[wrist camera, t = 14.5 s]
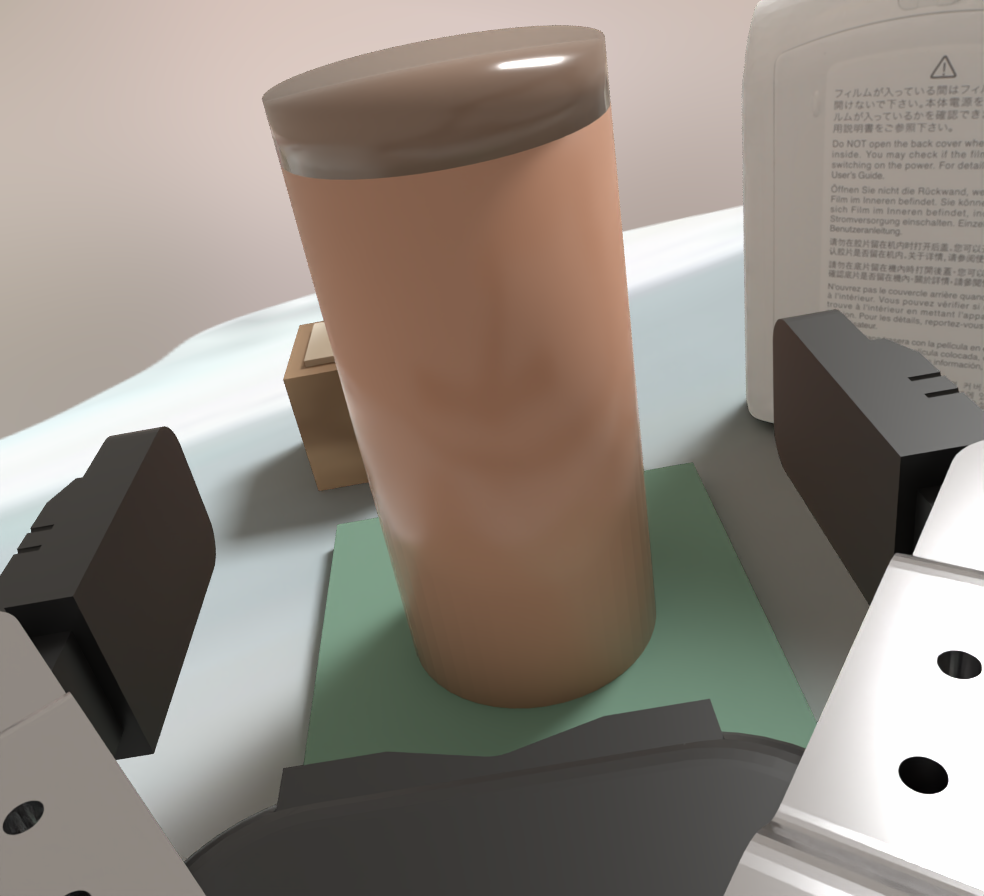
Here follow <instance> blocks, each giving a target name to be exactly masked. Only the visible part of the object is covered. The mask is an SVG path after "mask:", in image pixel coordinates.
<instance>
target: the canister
mask: <svg viewBox="0 0 984 896" xmlns="http://www.w3.org/2000/svg"><path fill="white" fill-rule="evenodd" d="M262 100H263V104H264V108H265V111H266V115H267V119H268V122H269V126H270V129H271V133H272V137H273V140H274V143H275V147H276V151H277V155H278V158H279V162H280V165H281V169H282V172H283V176H284V179H285V183H286V187H287V190H288V194H289V198H290V201H291V205H292V208H293V212H294V215H295V219H296V223H297V226H298V230H299V234H300V237H301V241H302V244H303V248H304V251H305V255H306V259H307V262H308V266H309V269H310V273H311V277H312V280H313V284H314V287H315V291H316V295H317V298H318V302H319V305H320V309H321V313H322V316H323V320H324V323H325V327H326V331H327V334H328V338H329V341H330V345H331V349H332V352H333V356H334V359H335V363H336V367H337V370H338V374H339V377H340V381H341V384H342V388H343V392H344V395H345V399H346V402H347V406H348V410H349V413H350V417H351V420H352V424H353V428H354V431H355V435H356V438H357V442H358V446H359V449H360V453H361V456H362V460H363V463H364V467H365V471H366V474H367V478H368V481H369V485H370V489H371V492H372V496H373V499H374V503H375V507H376V510H377V514H378V517H379V521H380V525H381V528H382V532H383V535H384V539H385V542H386V546H387V550H388V553H389V557H390V560H391V564H392V568H393V571H394V575H395V578H396V582H397V586H398V589H399V593H400V596H401V600H402V604H403V607H404V611H405V614H406V618H407V622H408V625H409V629H410V632H411V636H412V639H413V643H414V647H415V650H416V654H417V657H418V659H419V661H420V663H421V665H422V666H423V668H424V669H425V670H426V672H427V673H428V674H429V676H430V677H431V678H433V679H434V680H435V681H436V682H437V683H438V684H439V685H440V686H442V687H443V688H445V689H446V690H448V691H449V692H451V693H453V694H455V695H457V696H459V697H461V698H463V699H466V700H469V701H472V702H475V703H478V704H483V705H488V706H492V707H501V708H536V707H545V706H550V705H555V704H560V703H564V702H567V701H571V700H574V699H577V698H580V697H582V696H585V695H587V694H589V693H592V692H594V691H596V690H598V689H600V688H601V687H603V686H605V685H607V684H608V683H610V682H612V681H613V680H614V679H616V678H617V677H619V676H620V675H621V674H623V673H624V672H625V671H626V670H627V669H628V668H629V667H630V666H631V665H632V664H633V663H634V662H635V661H636V660H637V659H638V658H639V656H640V655H641V654H642V653H643V651H644V650H645V648H646V646H647V644H648V643H649V641H650V639H651V636H652V633H653V631H654V627H655V622H656V598H655V587H654V576H653V565H652V554H651V543H650V532H649V521H648V510H647V499H646V488H645V477H644V466H643V455H642V444H641V433H640V422H639V410H638V399H637V388H636V377H635V366H634V355H633V344H632V333H631V322H630V311H629V300H628V289H627V278H626V267H625V256H624V245H623V234H622V223H621V212H620V201H619V190H618V179H617V168H616V157H615V146H614V134H613V123H612V113H611V101H610V90H609V80H608V68H607V57H606V46H605V36H604V34H603V32H601V31H599V30H597V29H593V28H589V27H582V26H568V25H567V26H566V25H563V26H561V25H555V26H554V25H552V26H531V27H517V28H508V29H498V30H489V31H482V32H474V33H467V34H461V35H455V36H449V37H443V38H437V39H431V40H426V41H421V42H416V43H411V44H406V45H402V46H397V47H392V48H388V49H384V50H380V51H375V52H371V53H367V54H364V55H359V56H356V57H352V58H348V59H345V60H341V61H338V62H335V63H332V64H328V65H325V66H322V67H319V68H316V69H313V70H310V71H307V72H305V73H302V74H300V75H297V76H295V77H292V78H290V79H288V80H286V81H283V82H281V83H279V84H278V85H276V86H274V87H273V88H271V89H270V90H268V91H267V92H266V93H265V94H264V96H263V98H262Z"/></svg>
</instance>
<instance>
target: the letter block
mask: <svg viewBox="0 0 984 896" xmlns="http://www.w3.org/2000/svg"><path fill="white" fill-rule="evenodd" d="M283 381H284V384H285V387H286V390H287V393H288V396H289V399H290V403H291V406H292V409H293V412H294V415H295V418H296V421H297V425H298V428H299V431H300V434H301V437H302V440H303V443H304V447H305V450H306V453H307V456H308V459H309V462H310V465H311V469H312V472H313V475H314V478H315V481H316V484H317V487H318V490H319V491H322V490H328V489H334V488H340V487H345V486H351V485H357V484H362V483H368V482H369V481H368V478H367V474H366V471H365V467H364V463H363V460H362V456H361V453H360V449H359V446H358V442H357V438H356V435H355V431H354V428H353V424H352V420H351V417H350V413H349V410H348V406H347V402H346V399H345V395H344V392H343V388H342V384H341V381H340V377H339V374H338V370H337V367H336V363H335V359H334V356H333V352H332V349H331V345H330V341H329V338H328V334H327V331H326V327H325V323H324V321H321V322H315V323H310V324H304V325H300V326H299V329H298V332H297V336H296V339H295V342H294V346H293V349H292V352H291V356H290V359H289V362H288V366H287V369H286V372H285V375H284V379H283Z"/></svg>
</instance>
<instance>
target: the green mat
mask: <svg viewBox="0 0 984 896" xmlns="http://www.w3.org/2000/svg"><path fill="white" fill-rule="evenodd" d="M644 477H645V488H646V499H647V510H648V521H649V532H650V543H651V554H652V565H653V576H654V587H655V598H656V622H655V627H654V631H653V633H652V636H651V639H650V641H649V643H648V644H647V646H646V648H645V650H644V651H643V653H642V654H641V655H640V656H639V658H638V659H637V660H636V661H635V662H634V663H633V664H632V665H631V666H630V667H629V668H628V669H627V670H626V671H625V672H624V673H623V674H621V675H620V676H619V677H617V678H616V679H614V680H613V681H612V682H610V683H608V684H607V685H605V686H603V687H601V688H600V689H598V690H596V691H594V692H592V693H589V694H587V695H585V696H582V697H580V698H577V699H574V700H571V701H567V702H564V703H560V704H555V705H550V706H545V707H536V708H501V707H492V706H488V705H483V704H478V703H475V702H472V701H469V700H466V699H463V698H461V697H459V696H457V695H455V694H453V693H451V692H449V691H448V690H446V689H445V688H443V687H442V686H440V685H439V684H438V683H437V682H436V681H435V680H434V679H433V678H431V677H430V676H429V674H428V673H427V672H426V670H425V669H424V668H423V666H422V665H421V663H420V661H419V659H418V657H417V654H416V650H415V647H414V643H413V639H412V636H411V632H410V629H409V625H408V622H407V618H406V614H405V611H404V607H403V604H402V600H401V596H400V593H399V589H398V586H397V582H396V578H395V575H394V571H393V568H392V564H391V560H390V557H389V553H388V550H387V546H386V542H385V539H384V535H383V532H382V528H381V525H380V521H379V517H378V518H373V519H367V520H361V521H355V522H350V523H344V524H338V525H337V530H336V537H335V545H334V552H333V559H332V566H331V573H330V580H329V587H328V594H327V602H326V609H325V616H324V623H323V630H322V637H321V644H320V651H319V659H318V666H317V673H316V680H315V687H314V694H313V701H312V708H311V716H310V723H309V730H308V737H307V744H306V751H305V758H304V765H307V764H313V763H320V762H326V761H332V760H338V759H344V758H350V757H356V756H362V755H368V754H375V753H381V752H387V751H388V752H407V753H426V754H446V755H465V756H498V755H503V754H506V753H509V752H511V751H514V750H517V749H519V748H522V747H524V746H527V745H530V744H532V743H535V742H537V741H540V740H543V739H545V738H548V737H551V736H553V735H556V734H558V733H561V732H564V731H566V730H569V729H571V728H574V727H577V726H579V725H582V724H584V723H587V722H590V721H592V720H595V719H597V718H600V717H603V716H607V715H613V714H619V713H625V712H631V711H637V710H643V709H650V708H656V707H662V706H668V705H674V704H680V703H686V702H692V701H698V700H704V699H710V700H711V703H712V706H713V709H714V712H715V714H716V717H717V720H718V723H719V726H720V729H721V731H723V732H739V733H745V734H752V735H758V736H765V737H768V738H772V739H776V740H780V741H784V742H788V743H792V744H795V745H798V746H800V747H803V748H806V747H807V745H808V743H809V741H810V738H811V736H812V734H813V732H814V729H815V727H816V725H817V722H816V720H815V718H814V716H813V714H812V712H811V710H810V707H809V705H808V703H807V701H806V699H805V697H804V695H803V693H802V691H801V689H800V686H799V684H798V682H797V680H796V678H795V676H794V674H793V672H792V670H791V668H790V666H789V663H788V661H787V659H786V657H785V655H784V653H783V651H782V649H781V647H780V645H779V642H778V640H777V638H776V636H775V634H774V632H773V630H772V628H771V626H770V624H769V621H768V619H767V617H766V615H765V613H764V611H763V609H762V607H761V605H760V603H759V600H758V598H757V596H756V594H755V592H754V590H753V588H752V586H751V584H750V582H749V580H748V577H747V575H746V573H745V571H744V569H743V567H742V565H741V563H740V561H739V559H738V556H737V554H736V552H735V550H734V548H733V546H732V544H731V542H730V540H729V538H728V535H727V533H726V531H725V529H724V527H723V525H722V523H721V521H720V519H719V517H718V515H717V512H716V510H715V508H714V506H713V504H712V502H711V500H710V498H709V496H708V494H707V491H706V489H705V487H704V485H703V483H702V481H701V479H700V477H699V475H698V473H697V470H696V468H695V466H694V464H693V462H692V463H686V464H680V465H675V466H669V467H663V468H658V469H652V470H646V471H644Z"/></svg>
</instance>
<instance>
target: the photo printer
mask: <svg viewBox="0 0 984 896" xmlns="http://www.w3.org/2000/svg"><path fill="white" fill-rule="evenodd" d="M742 140H743V142H742V144H743V212H744V285H745V360H746V400H747V404H748V408H749V412H750V413H751V414H752V416H753V417H755V418H757V419H760V420H763V421H767V422H771V423H774V403H773V330H774V326H775V323H776V321H777V320H778V319H782V318H788V317H793V316H799V315H805V314H810V313H816V312H821V311H827V310H833V309H837V310H839V311H840V312H842V313H843V314H844V315H845V316H846V317H847V318H848V319H849V320H850V321H851V322H852V323H853V324H854V325H855V326H856V327H857V328H858V329H859V330H860V331H861V332H862V333H863V334H864V335H865V336H866V337H867V338H868V339H869V340H876V339H882V338H885V339H888V340H890V341H893V342H895V343H898V344H900V345H903V346H905V347H908V348H910V349H913V350H915V351H918V352H920V353H921V354H922V355H923V356H924V357H925V358H926V359H927V360H928V361H929V362H931V363H932V364H933V365H934V366H935V367H936V368H937V369H938V370H939V371H940V372H941V376H946V377H947V378H948V379H949V380H950V381H951V382H952V383H954V384H955V385H956V386H957V387H958V390H959V393H960V392H963V393H965V394H966V395H967V396H968V397H969V398H970V399H971V400H972V401H973V402H974V403H976V404H977V405H978V406H979V407H980V408H981V409H982V410H983V411H984V0H761V1H760V2H758V4H757V5H756V8H755V11H754V14H753V18H752V22H751V26H750V31H749V35H748V41H747V47H746V54H745V67H744V74H743V81H742Z"/></svg>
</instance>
